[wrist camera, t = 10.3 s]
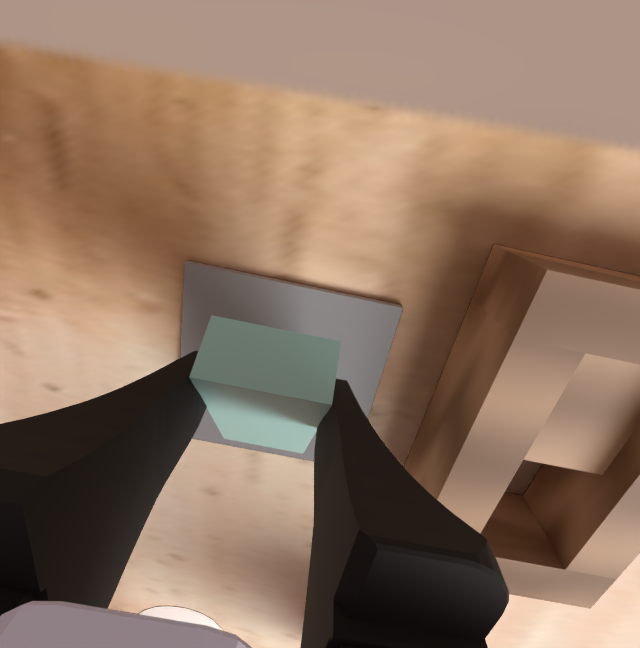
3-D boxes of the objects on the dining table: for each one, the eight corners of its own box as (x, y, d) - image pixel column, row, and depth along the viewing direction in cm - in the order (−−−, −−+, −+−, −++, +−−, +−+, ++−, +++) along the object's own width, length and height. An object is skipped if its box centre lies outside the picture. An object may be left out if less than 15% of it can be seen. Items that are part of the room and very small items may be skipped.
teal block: (309, 414, 19) (303, 453, 18) (235, 399, 18) (224, 438, 17) (341, 341, 11) (332, 404, 10) (211, 315, 11) (189, 377, 10)
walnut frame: (545, 531, 22) (590, 608, 18) (389, 502, 21) (400, 574, 18) (712, 291, 15) (836, 332, 12) (493, 244, 15) (547, 269, 11)
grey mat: (351, 463, 20) (351, 468, 20) (179, 430, 20) (176, 435, 20) (401, 305, 16) (403, 308, 16) (187, 260, 16) (184, 262, 16)
